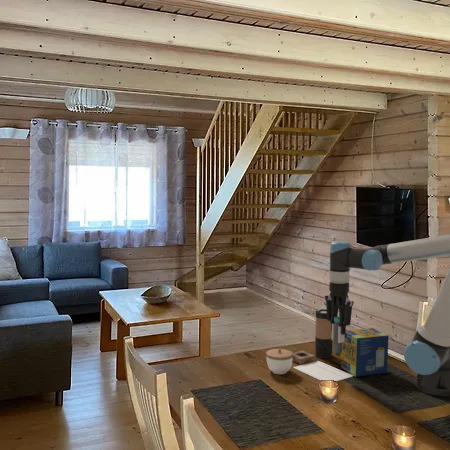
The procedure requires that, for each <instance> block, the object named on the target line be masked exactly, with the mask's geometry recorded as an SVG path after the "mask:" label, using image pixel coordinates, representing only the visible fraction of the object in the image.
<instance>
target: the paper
mask: <svg viewBox="0 0 450 450" xmlns="http://www.w3.org/2000/svg"><path fill="white" fill-rule="evenodd" d="M293 369H294V370H297V371H299V372H301V373H303V374H306V375H308V376H310V377H311V378H314V379H316V380H318V381H320V382H322V381H321V380H334V381H336V382H335V383H337V382H339V381H343V380H346V379H350V378H353V376H354V375H352V374H350V373H349V372H347V371H345V370H344V371H343V370H341V369H338V368H336V367H334V366H333V365H332V366H331V365H329V364H327V363H325V362H322V361H319V360H317V361H316V360H315V361H314V362H310V363H306V364H302V365H300V364H299V365H296V366H293Z"/></svg>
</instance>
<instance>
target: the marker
mask: <svg viewBox="0 0 450 450" xmlns="http://www.w3.org/2000/svg"><path fill="white" fill-rule="evenodd" d="M339 325H340V318H339V315H338V316H335V317H334V340H333V353H334V355H335V356H337V357H341V354H342V342H341V343H338V326H339Z"/></svg>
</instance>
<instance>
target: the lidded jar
mask: <svg viewBox="0 0 450 450" xmlns="http://www.w3.org/2000/svg"><path fill="white" fill-rule="evenodd" d="M293 353H294V352H292V351H291V350H289V349H285V348H272V349H269V350H267V351H266V352H265V355H266V356H265V357H266V363H267V367H268V369H269V370H270V371H271V373H273V374H275V375H286V374H287V373H288V372H289V370H290V369H291V367H292V365H293Z"/></svg>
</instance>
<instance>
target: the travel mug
mask: <svg viewBox="0 0 450 450" xmlns="http://www.w3.org/2000/svg"><path fill="white" fill-rule="evenodd" d="M314 324H315V327H314V328H315V329H314V332H315V333H314V338H315V339H314V340H315V341H314V342H315V343H314V344H315V350H314V351H315V357H317V358H319V359H330V358H332V357H333V346H334V340H332V331H331V323H330V321H328V320H327V310H326V309H325V308H322V309H320V310H315V323H314Z"/></svg>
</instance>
